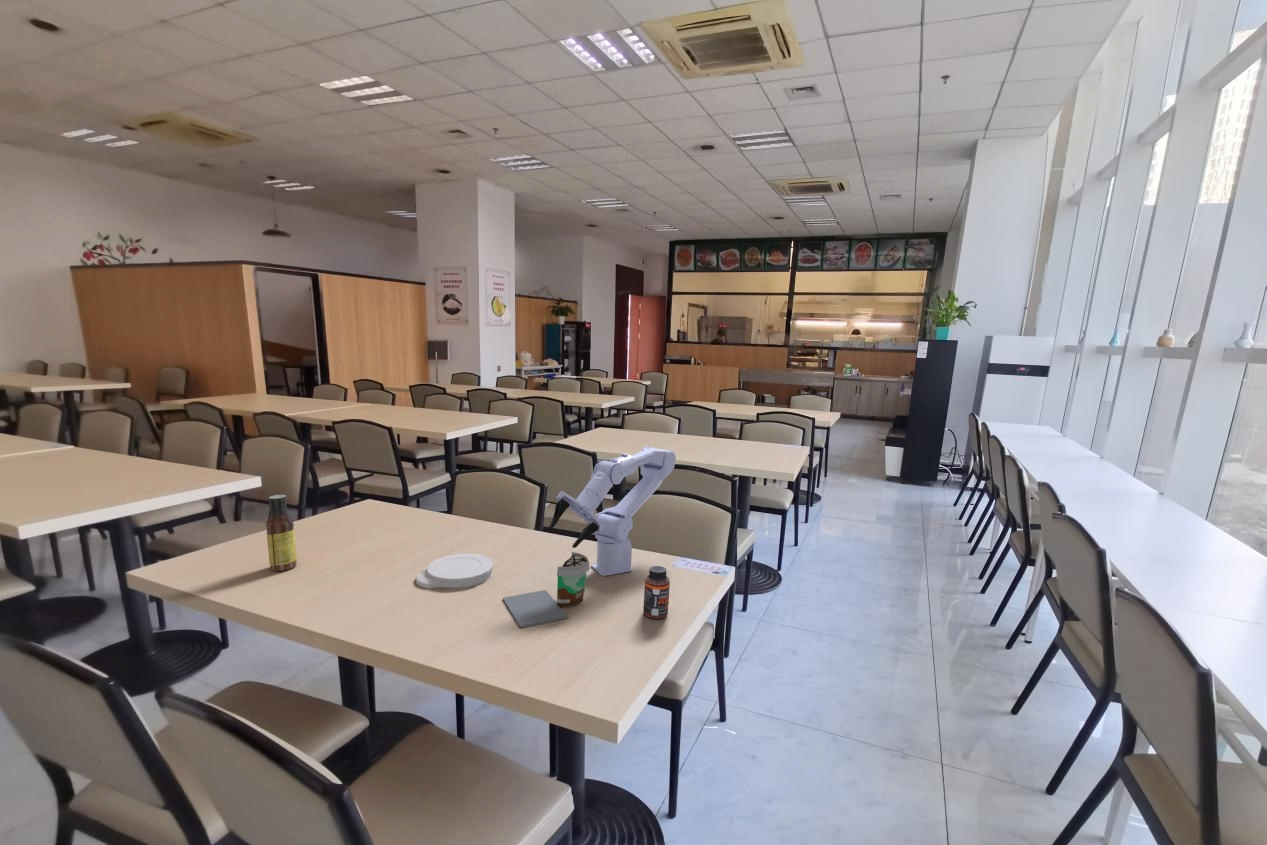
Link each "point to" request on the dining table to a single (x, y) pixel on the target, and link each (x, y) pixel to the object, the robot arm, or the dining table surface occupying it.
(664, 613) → the supplement bottle
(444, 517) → the dining table surface
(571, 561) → the food container
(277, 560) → the sauce bottle
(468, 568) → the lid
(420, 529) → the dining table surface
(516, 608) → the mat
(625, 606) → the dining table surface
